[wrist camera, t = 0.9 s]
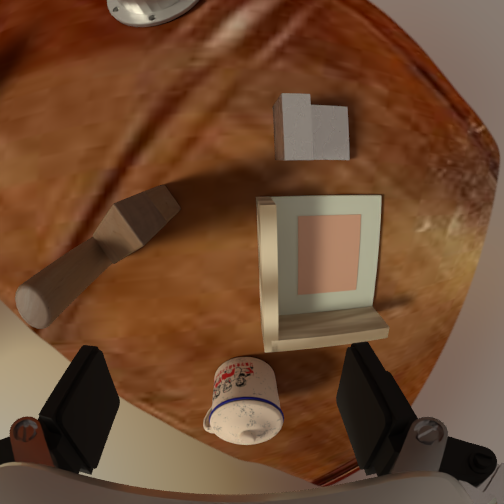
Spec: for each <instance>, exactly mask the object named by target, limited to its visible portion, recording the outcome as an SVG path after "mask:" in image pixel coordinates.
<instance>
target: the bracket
mask: <svg viewBox="0 0 504 504" xmlns="http://www.w3.org/2000/svg"><path fill="white" fill-rule="evenodd" d="M273 121H274V143H275V160H350V159H349V128H348V109H347V107H343V106H327V105H311V102H310V94H288V93H282V94H281V95H280V97H279V98H278V100H277V101H276V103H275V104H274V106H273Z"/></svg>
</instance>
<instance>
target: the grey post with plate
mask: <svg viewBox="0 0 504 504" xmlns="http://www.w3.org/2000/svg"><path fill="white" fill-rule="evenodd" d="M180 209H181V208H180V206H179V204H178V203H177V202H176V200H175V199H174V197H173V196H172V195H171V193H170V192H169V190H168V189H167V187H166V186H165V185H160V186H157V187H155V188H152V189H149V190H147V191H144V192H141V193H139V194H136V195H134V196H131V197H129V198H126V199H124V200H121V201H119V202H117V203H114V204H113V206H112V207H111V208H110V210H109V211H108V213H107V214H106V216H105V217H104V219H103V220H102V222H101V223H100V225H99V226H98V228H97V229H96V231H95V232H94V234H93V237H92V238H90V239H88V240H87V241H85V242H84V243H82V244H80V245H79V246H77V247H76V248H74V249H73V250H71V251H69V252H68V253H66V254H65V255H63V256H62V257H60V258H59V259H57V260H56V261H54V262H53V263H51V264H50V265H48V266H47V267H46V268H44V269H43V270H41V271H40V272H38V273H37V274H35V275H34V276H33V277H31V278H30V279H28V280H27V281H26V282H24V283H23V284H22V285H20V286H19V287H18V289H17V292H16V297H15V300H16V306H17V308H18V311H19V313H20V314H21V316H22V318H23V319H24V320H25V321H26V322H27V323H28V324H30V325H31V326H32V327H35V328H38V329H43V328H46V327H48V326H49V325H50V324H51V323H52V322H53V321H54V320H55V319H56V318H57V317H58V316H59V315H60V314H61V313H62V312H63V311H64V310H65V309H66V308H67V307H68V306H69V305H70V304H71V303H72V302H73V301H74V300H75V299H76V298H77V297H78V296H79V295H80V294H81V293H82V292H83V291H84V290H85V289H86V288H87V287H88V286H89V285H90V284H91V283H92V282H93V281H94V280H95V279H96V278H97V277H98V276H99V275H100V274H101V273H102V272H103V271H105V270H106V269H107V268H108V267H109V266H110V265H111V264H112V263H113V264H115V263H117V262H118V261H120V260H121V259H123V258H125V257H126V256H128V255H130V254H131V253H133V252H135V251H136V250H138V249H139V248H141V247H143V246H144V245H145V244H146V243H147V242H148V241H149V240H150V239H151V238H152V237H153V236H154V235H155V234H156V233H158V232H159V231H160V230H161V229H162V228H163V227H164V226H165V225H166V223H167V222H168V221H169V220H170V219H172V218H173V217H174V216H175V215H176V214H177V213H178V212H179V211H180Z"/></svg>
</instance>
